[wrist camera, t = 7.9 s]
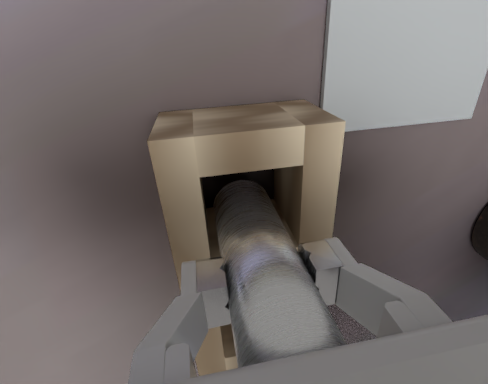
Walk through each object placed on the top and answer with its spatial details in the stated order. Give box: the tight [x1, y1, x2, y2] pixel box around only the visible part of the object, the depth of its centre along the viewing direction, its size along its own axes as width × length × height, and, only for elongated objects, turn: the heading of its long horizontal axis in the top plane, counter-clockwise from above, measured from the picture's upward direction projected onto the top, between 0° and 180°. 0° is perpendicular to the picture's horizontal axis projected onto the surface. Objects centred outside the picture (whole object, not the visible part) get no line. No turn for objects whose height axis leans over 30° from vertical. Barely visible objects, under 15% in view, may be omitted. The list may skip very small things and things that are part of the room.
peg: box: [213, 180, 347, 368], centre depth 11 cm, size 3×3×10 cm
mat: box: [320, 0, 488, 132], centre depth 16 cm, size 10×8×1 cm
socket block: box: [147, 100, 346, 376], centre depth 17 cm, size 8×16×5 cm, turn 3°
